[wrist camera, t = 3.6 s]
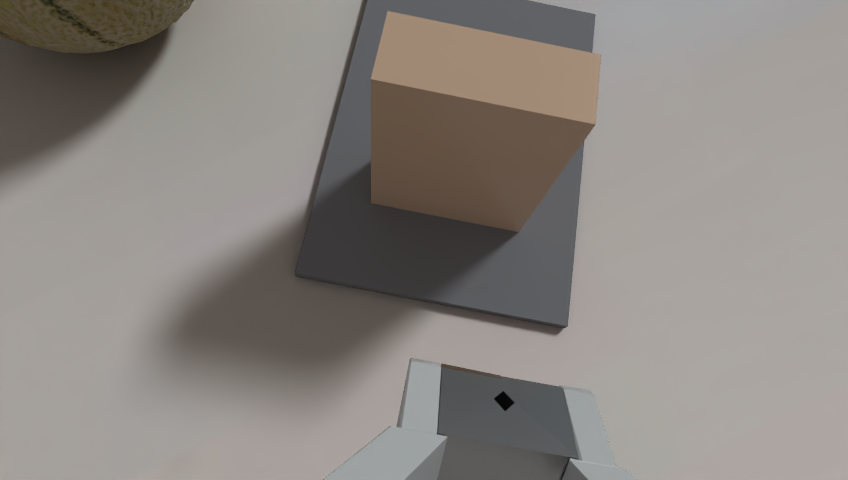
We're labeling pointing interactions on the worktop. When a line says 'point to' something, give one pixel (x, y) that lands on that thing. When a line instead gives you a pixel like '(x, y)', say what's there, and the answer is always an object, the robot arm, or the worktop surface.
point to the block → (474, 120)
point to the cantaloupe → (87, 22)
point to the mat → (432, 235)
